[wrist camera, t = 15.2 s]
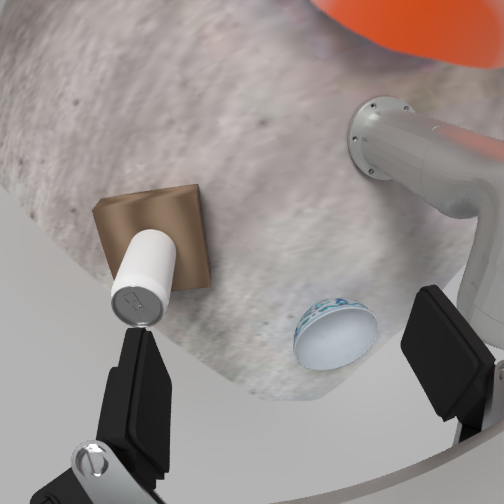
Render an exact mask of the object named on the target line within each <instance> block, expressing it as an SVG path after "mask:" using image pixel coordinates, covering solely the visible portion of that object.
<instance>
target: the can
mask: <svg viewBox="0 0 504 504" xmlns="http://www.w3.org/2000/svg"><path fill="white" fill-rule="evenodd" d="M175 259H176V247H175V244H174V242H173V241H172V239H171V238H170V237H169V236H168V235H166V234H165V233H163V232H161V231H158V230H153V229H149V230H144V231H141V232H139V233H137V234H136V235H135V236H134V237H133V239H132V240H131V242H130V244H129V247H128V249H127V251H126V253H125V256H124V258H123V261H122V263H121V265H120V268H119V270H118V273H117V275H116V278H115V281H114V283H113V286H112V291H111V297H112V302H111V305H112V309H113V312H114V313H115V315H116V316H117V317H118V318H119V319H120V320H121V321H122V322H124V323H126V324H128V325H130V326H133V327H145V328H146V327H151V326H153V325H155V324H157V323H158V322H159V321H160V320H161V318H162V316H163V314H164V313H165V311H166V310H167V307H168V304H169V299H170V292H171V286H172V279H173V272H174V266H175Z"/></svg>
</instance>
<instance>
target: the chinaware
mask: <svg viewBox="0 0 504 504" xmlns="http://www.w3.org/2000/svg"><path fill="white" fill-rule="evenodd" d="M378 331H379V323H378V320H377V318H376V316H375V315H374V314H373V313H372V312H371V311H370V310H369V309H368V308H367V307H365V306H364V305H363V304H361V303H359V302H357V301H355V300H352V299H348V298H327V299H323V300H320V301H318V302H316V303H315V304H314V305H313V306H312V307H311V308H310V309H309V310H308V311H307V312H306V313H305V314H304V315H303V317H302V318H301V320H300V321H299V323H298V326H297V328H296V331H295V336H294V355H295V358H296V360H297V361H298V362H299V363H300V364H301V365H302V366H304V367H306V368H308V369H312V370H320V371H322V370H332V369H336V368H340V367H342V366H345V365H347V364H349V363H351V362H353V361H355V360H356V359H358V358H359V357H361V356H362V355H363V354H364V353H365V352H367V351H368V349H369V348H370V347H371V346H372V345H373V343H374V342H375V340H376V338H377V335H378Z"/></svg>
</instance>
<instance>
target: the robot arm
mask: <svg viewBox="0 0 504 504" xmlns="http://www.w3.org/2000/svg"><path fill="white" fill-rule="evenodd" d="M371 104H372V107H371ZM353 137H354V139H353ZM348 148H349V152H350V155H351V157H352V159H353V161H354V163H355V164H356V165H357V167H358V168H359V169H360V170H361V171H362V172H364V173H365V174H366V175H368V176H369V177H372V178H374V179H377V180H382V181H386V180H395V181H396V182H398V183H399V184H401V185H402V186H404V187H405V188H407V189H408V190H410V191H411V192H413V193H414V194H415V195H417V196H418V197H420V198H421V199H422V200H424V201H425V202H427V203H428V204H429V205H431V206H432V207H434V208H435V209H437V210H438V211H439V212H441V213H443V214H444V215H446V216H448V217H451V218H455V219H468V218H473V217H477V216H478V222H477V227H476V232H475V236H474V241H473V245H472V249H471V252H470V255H469V259H468V262H467V265H466V268H465V271H464V274H463V278H462V281H461V285H460V288H459V291H458V296H457V308H456V307H455V306H454V305H453V304H452V302H451V301H450V300H449V299H448V298H447V297H446V295H445V294H444V293H443V292H442V291H441V290H440V288H439V287H438V286H437V285H430V286H425V287H422V288H421V289H420V290H419V292H418V293H417V294H416V297H415V301H414V304H413V307H412V310H411V313H410V317H409V320H408V323H407V326H406V328H405V331H404V334H403V337H402V340H401V350H402V352H403V354H404V355H405V357H406V358H407V360H408V362H409V364H410V366H411V367H412V369H413V371H414V373H415V375H416V376H417V378H418V380H419V382H420V384H421V386H422V387H423V389H424V391H425V393H426V395H427V397H428V398H429V400H430V402H431V404H432V406H433V408H434V410H435V412H436V414H437V415H438V416H440V417H442V419H443V421H444V422H445V421H447V420H450V419H452V418H454V417H455V416H457V419H458V424H457V430H456V433H455V438H454V442H453V446H452V447H451V448H449V449H447V450H445V451H443V452H441V453H439V454H437V455H434V456H432V457H430V458H428V459H425V460H423V461H421V462H418V463H416V464H414V465H411V466H408V467H406V468H403V469H401V470H398V471H396V472H393V473H390V474H387V475H385V476H382V477H379V478H376V479H373V480H370V481H367V482H364V483H361V484H357V485H354V486H351V487H347V488H343V489H339V490H336V491H332V492H327V493H323V494H319V495H315V496H310V497H305V498H300V499H295V500H290V501H284V502H278V503H272V504H504V360H502V361H500V362H498V364H497V365H495V364H494V362H495V360H496V359H495V358H494V356H493V355H492V354H491V352H490V351H489V349H488V348H487V347H486V345H485V344H484V343H486V344H489V345H491V346H493V347H496V348H499V349H503V350H504V141H503V140H499V139H495V138H492V137H489V136H486V135H483V134H480V133H477V132H474V131H471V130H468V129H465V128H462V127H459V126H456V125H453V124H450V123H447V122H443V121H440V120H437V119H434V118H430V117H427V116H423V115H420V114H416V112H415V111H414V110H413V108H412V107H411V106H410V105H409V104H407V103H406V102H404V101H403V100H400V99H398V98H395V97H389V96H380V97H375V98H373V99H370V100H368V101H367V102H365V103H364V104H363V105H362V106H361V107H360V108H359V109H358V110H357V111H356V113H355V114H354V116H353V118H352V120H351V122H350V125H349V130H348ZM483 342H484V343H483ZM171 397H172V383H171V379H170V376H169V374H168V372H167V369H166V367H165V364H164V362H163V360H162V357H161V355H160V352H159V350H158V347H157V345H156V342H155V339H154V337H153V334H152V332H151V331H146V329H145V327H137V328H128V329H127V331H126V334H125V338H124V343H123V347H122V351H121V355H120V360H119V364H118V367H112V368H111V369H110V372H109V375H108V380H107V384H106V389H105V393H104V398H103V403H102V408H101V413H100V419H99V424H98V430H97V436H96V440H91V441H86V442H83V443H81V444H80V445H79V446H78V447H76V449H75V450H74V452H73V453H72V457H71V468H69V469H68V470H67V471H65V472H64V473H62V474H61V475H60V476H58V477H57V478H56V479H54V480H53V481H52V482H50V483H48V484H47V485H46V486H44V487H43V488H41V489H40V490H38V491H37V492H36V493H35V494H34V495H33V496H32V498H31V500H30V504H167V503H166V502H165V501H164V500H163V499H162V498H161V497H160V496H159V495H158V493H156V491H155V490H154V489H155V488H156V479H158V480H164V473H168V472H169V467H170V466H169V465H170V464H169V463H170V420H171V419H170V418H171Z"/></svg>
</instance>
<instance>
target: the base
mask: <svg viewBox="0 0 504 504" xmlns="http://www.w3.org/2000/svg"><path fill="white" fill-rule="evenodd" d="M92 212H93V216H94V219H95V223H96V226H97V230H98V233H99V236H100V240H101V243H102V246H103V249H104V252H105V255H106V258H107V261H108V264H109V267H110V270H111V273H112V276H113V279H114V281H115V278H116V275H117V273H118V270H119V268H120V265H121V263H122V261H123V258H124V256H125V253H126V251H127V249H128V247H129V244H130V242H131V240H132V239H133V237H134V236H135V235H136V234H137V233H139V232H141V231H144V230H149V229H153V230H158V231H161V232H163V233H165V234H166V235H168V236H169V237H170V238H171V239H172V241H173V242H174V244H175V247H176V259H175V266H174V272H173V279H172V286H171V291H176V290H185V289H195V288H204V287H211V270H210V264H209V258H208V251H207V245H206V238H205V232H204V225H203V218H202V211H201V204H200V197H199V190H198V184H193V185H186V186H178V187H171V188H164V189H157V190H151V191H144V192H138V193H132V194H126V195H120V196H114V197H109V198H103V199H101V200H100V201H99V202H98V203H97V204H96V206H95V207H94V208H93V209H92Z"/></svg>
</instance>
